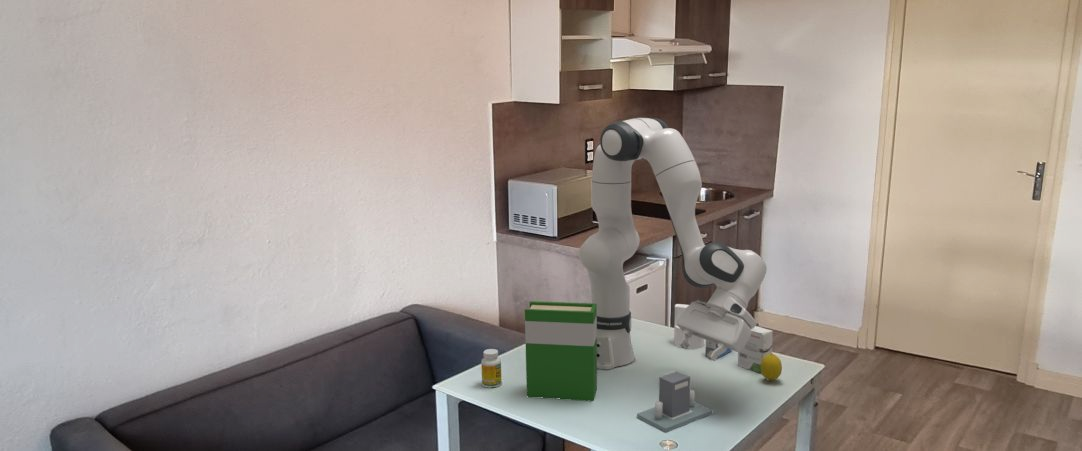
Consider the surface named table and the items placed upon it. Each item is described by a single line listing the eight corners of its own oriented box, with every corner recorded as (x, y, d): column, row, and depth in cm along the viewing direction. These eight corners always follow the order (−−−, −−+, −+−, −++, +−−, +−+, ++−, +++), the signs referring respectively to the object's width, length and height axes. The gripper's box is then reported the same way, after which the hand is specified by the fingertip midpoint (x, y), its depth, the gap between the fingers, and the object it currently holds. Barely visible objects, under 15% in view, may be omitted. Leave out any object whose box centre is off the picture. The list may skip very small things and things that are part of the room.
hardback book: (526, 397, 209) (524, 309, 204) (532, 385, 216) (530, 301, 211) (593, 401, 206) (593, 312, 201) (596, 389, 213) (596, 303, 208)
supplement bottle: (485, 379, 221) (484, 347, 219) (504, 381, 220) (503, 348, 218) (479, 387, 216) (478, 354, 214) (498, 389, 214) (497, 355, 212)
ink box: (772, 369, 224) (774, 330, 222) (761, 374, 221) (763, 334, 218) (747, 361, 231) (748, 322, 228) (736, 365, 227) (737, 326, 225)
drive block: (672, 417, 193) (672, 383, 191) (658, 411, 197) (659, 377, 195) (689, 411, 197) (690, 377, 195) (676, 404, 200) (676, 371, 198)
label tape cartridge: (720, 348, 241) (722, 309, 238) (732, 351, 238) (733, 312, 236) (704, 356, 235) (705, 316, 232) (716, 359, 232) (717, 319, 230)
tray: (665, 432, 188) (666, 412, 187) (636, 417, 196) (637, 398, 195) (712, 413, 198) (712, 395, 196) (682, 400, 205) (683, 382, 204)
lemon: (777, 387, 213) (779, 358, 211) (757, 382, 215) (758, 354, 214) (783, 379, 217) (785, 352, 215) (763, 375, 220) (764, 348, 218)
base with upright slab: (671, 347, 243) (672, 309, 240) (677, 337, 251) (677, 300, 248) (701, 350, 240) (702, 312, 237) (705, 340, 248) (706, 303, 245)
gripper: (689, 291, 208) (660, 334, 205) (750, 311, 192) (721, 359, 188) (700, 304, 212) (672, 347, 208) (762, 325, 195) (733, 372, 192)
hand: (696, 353), depth 198 cm, fingers open, 8 cm apart
